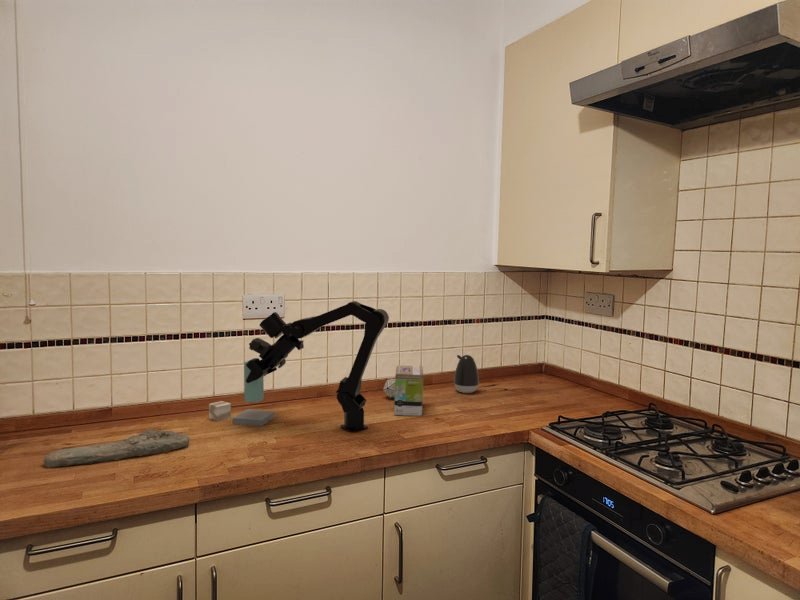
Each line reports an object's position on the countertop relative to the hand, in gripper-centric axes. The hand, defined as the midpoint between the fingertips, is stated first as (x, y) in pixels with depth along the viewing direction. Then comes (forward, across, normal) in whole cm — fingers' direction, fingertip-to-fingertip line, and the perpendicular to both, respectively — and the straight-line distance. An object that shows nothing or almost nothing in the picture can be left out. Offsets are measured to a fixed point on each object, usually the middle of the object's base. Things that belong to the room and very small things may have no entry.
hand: (250, 380), depth 174 cm
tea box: (-25, -24, +44) cm, 56 cm away
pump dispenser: (-38, -54, +58) cm, 88 cm away
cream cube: (+17, 0, +2) cm, 17 cm away
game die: (-19, -38, +38) cm, 57 cm away
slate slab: (+9, 0, +11) cm, 14 cm away
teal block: (+4, 0, +6) cm, 7 cm away
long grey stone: (+24, +35, -5) cm, 43 cm away
